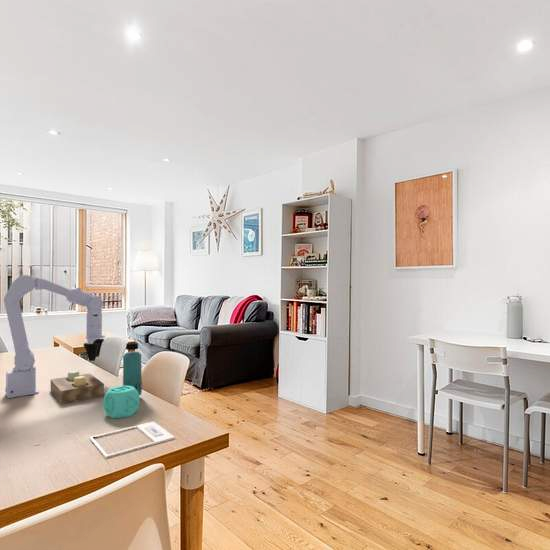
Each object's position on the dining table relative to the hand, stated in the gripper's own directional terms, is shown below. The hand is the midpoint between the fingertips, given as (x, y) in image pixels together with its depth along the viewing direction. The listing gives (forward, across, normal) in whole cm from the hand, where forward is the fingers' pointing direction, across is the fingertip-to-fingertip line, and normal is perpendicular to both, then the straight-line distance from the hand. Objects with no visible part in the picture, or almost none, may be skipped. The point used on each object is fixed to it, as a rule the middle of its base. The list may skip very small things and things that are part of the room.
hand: (94, 358), depth 160 cm
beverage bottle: (+10, -24, -18) cm, 32 cm away
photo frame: (+11, -60, -22) cm, 65 cm away
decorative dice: (+10, -40, -16) cm, 44 cm away
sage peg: (+7, -9, +5) cm, 13 cm away
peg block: (+10, -13, +3) cm, 17 cm away
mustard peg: (+7, -18, +1) cm, 19 cm away
